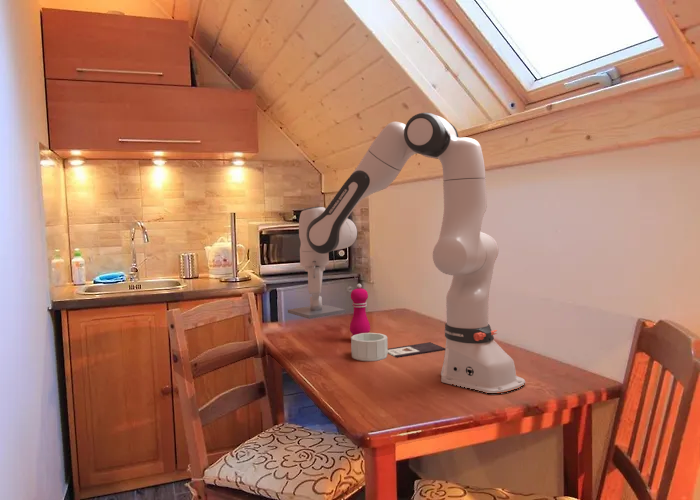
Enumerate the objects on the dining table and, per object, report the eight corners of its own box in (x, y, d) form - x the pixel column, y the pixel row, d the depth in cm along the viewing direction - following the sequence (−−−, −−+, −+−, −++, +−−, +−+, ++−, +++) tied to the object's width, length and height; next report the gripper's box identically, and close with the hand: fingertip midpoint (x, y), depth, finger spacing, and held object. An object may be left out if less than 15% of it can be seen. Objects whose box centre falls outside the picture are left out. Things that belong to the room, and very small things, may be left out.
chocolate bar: (445, 348, 169) (397, 356, 161) (445, 351, 169) (397, 359, 161) (430, 342, 177) (383, 349, 169) (430, 344, 177) (383, 352, 169)
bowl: (394, 356, 162) (394, 337, 162) (366, 363, 156) (365, 343, 156) (372, 349, 171) (372, 331, 171) (345, 355, 165) (344, 336, 164)
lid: (345, 312, 162) (345, 296, 161) (309, 318, 154) (308, 302, 154) (322, 307, 172) (322, 292, 172) (287, 312, 164) (287, 297, 164)
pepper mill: (362, 344, 178) (361, 285, 176) (345, 341, 182) (344, 284, 180) (374, 339, 183) (373, 283, 182) (358, 337, 188) (356, 281, 186)
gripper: (324, 262, 152) (326, 309, 153) (324, 256, 172) (326, 298, 173) (302, 263, 151) (304, 310, 152) (305, 257, 172) (307, 299, 173)
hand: (316, 304), depth 163 cm, fingers closed on lid, 4 cm apart
